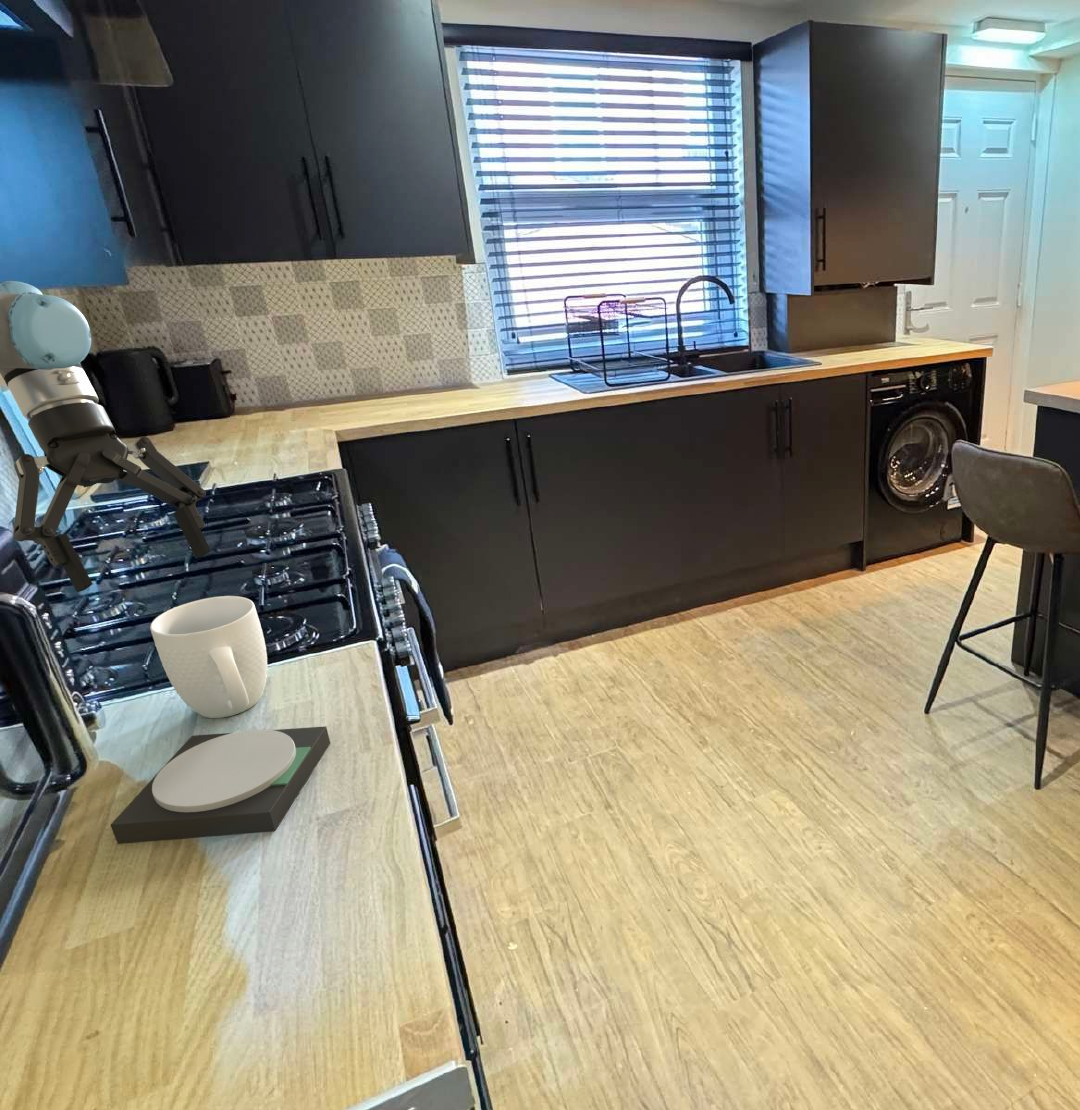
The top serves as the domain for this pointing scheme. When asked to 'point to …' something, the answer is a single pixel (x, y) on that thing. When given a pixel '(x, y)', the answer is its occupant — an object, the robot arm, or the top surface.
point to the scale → (224, 785)
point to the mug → (213, 654)
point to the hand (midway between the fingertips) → (148, 570)
